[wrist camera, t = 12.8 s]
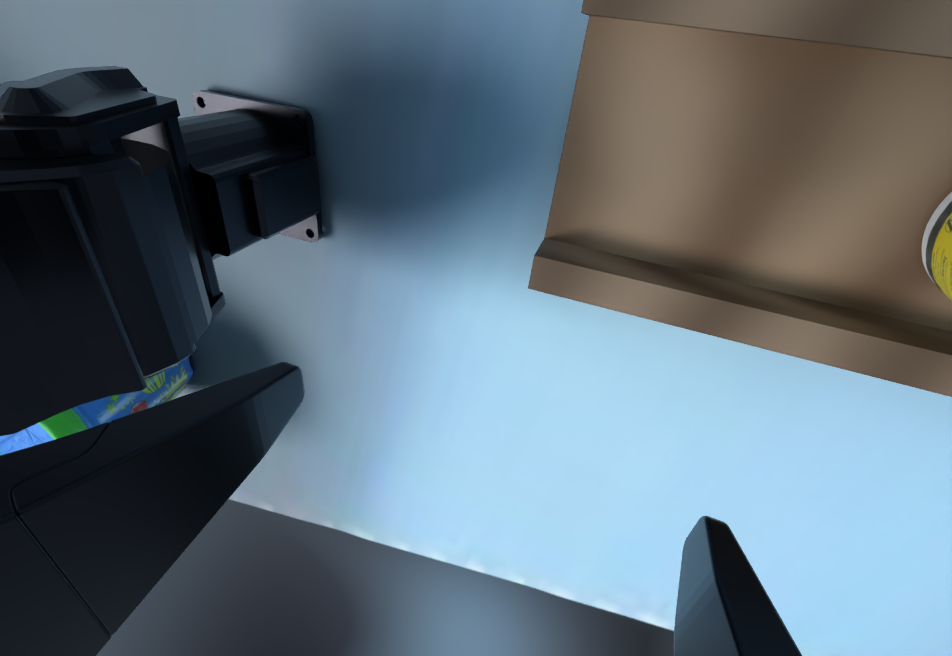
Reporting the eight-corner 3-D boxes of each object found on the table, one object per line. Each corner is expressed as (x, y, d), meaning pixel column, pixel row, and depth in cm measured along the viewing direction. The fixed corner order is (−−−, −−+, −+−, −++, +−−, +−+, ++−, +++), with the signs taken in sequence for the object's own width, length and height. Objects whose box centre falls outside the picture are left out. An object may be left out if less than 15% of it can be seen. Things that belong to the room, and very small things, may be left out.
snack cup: (255, 367, 33) (121, 476, 25) (227, 437, 39) (113, 542, 31) (70, 233, 32) (-133, 300, 24) (72, 326, 38) (-88, 404, 30)
